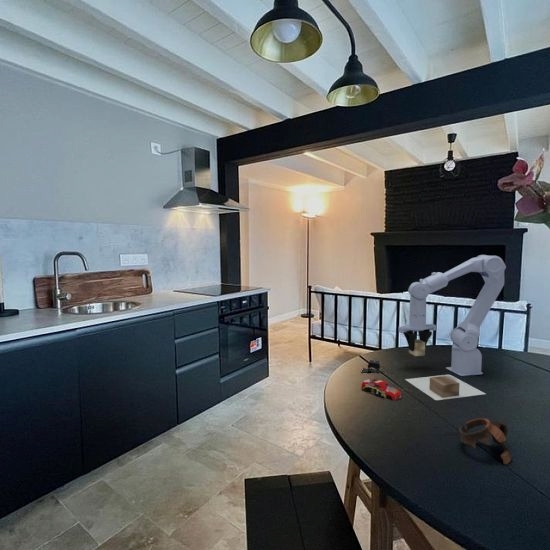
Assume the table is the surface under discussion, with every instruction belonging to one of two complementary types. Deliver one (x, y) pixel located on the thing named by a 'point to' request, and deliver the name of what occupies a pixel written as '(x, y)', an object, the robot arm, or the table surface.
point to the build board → (424, 386)
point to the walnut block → (444, 386)
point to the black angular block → (372, 365)
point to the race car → (381, 389)
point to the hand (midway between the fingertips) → (416, 349)
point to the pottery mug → (487, 435)
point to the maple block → (418, 348)
